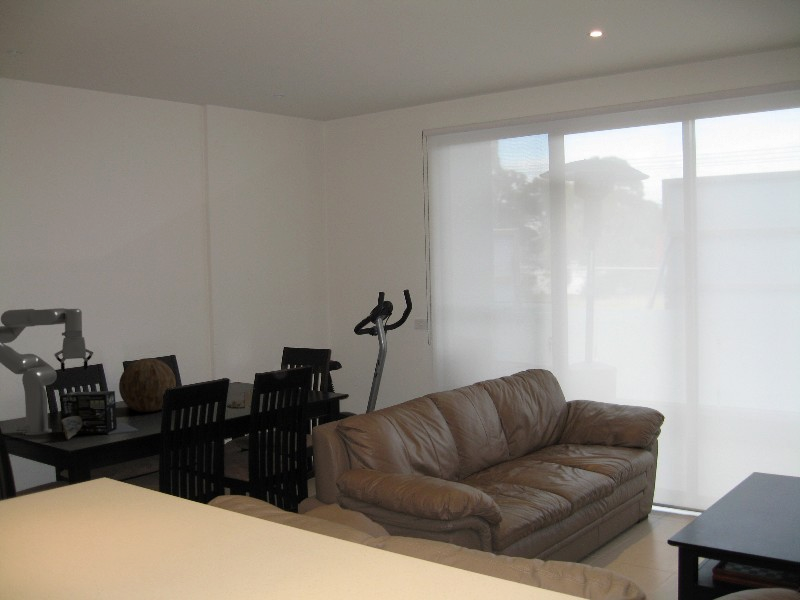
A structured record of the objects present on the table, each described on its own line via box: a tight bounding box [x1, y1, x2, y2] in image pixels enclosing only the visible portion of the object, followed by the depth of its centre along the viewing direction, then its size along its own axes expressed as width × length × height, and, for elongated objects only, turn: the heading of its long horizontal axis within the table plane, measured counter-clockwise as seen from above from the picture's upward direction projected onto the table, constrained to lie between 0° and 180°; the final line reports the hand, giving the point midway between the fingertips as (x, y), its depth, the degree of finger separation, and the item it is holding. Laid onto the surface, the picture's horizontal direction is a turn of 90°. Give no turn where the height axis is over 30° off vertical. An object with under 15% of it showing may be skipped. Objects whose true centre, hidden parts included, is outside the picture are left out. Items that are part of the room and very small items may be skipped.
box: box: [59, 390, 118, 435], centre depth 377 cm, size 23×10×19 cm, turn 84°
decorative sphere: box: [118, 357, 177, 413], centre depth 434 cm, size 30×30×30 cm
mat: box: [105, 422, 140, 436], centre depth 384 cm, size 14×25×1 cm, turn 35°
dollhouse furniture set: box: [226, 388, 254, 408], centre depth 444 cm, size 13×13×11 cm
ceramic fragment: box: [60, 416, 82, 440], centre depth 364 cm, size 11×3×10 cm, turn 152°
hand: (74, 370), depth 376 cm, fingers open, 9 cm apart
